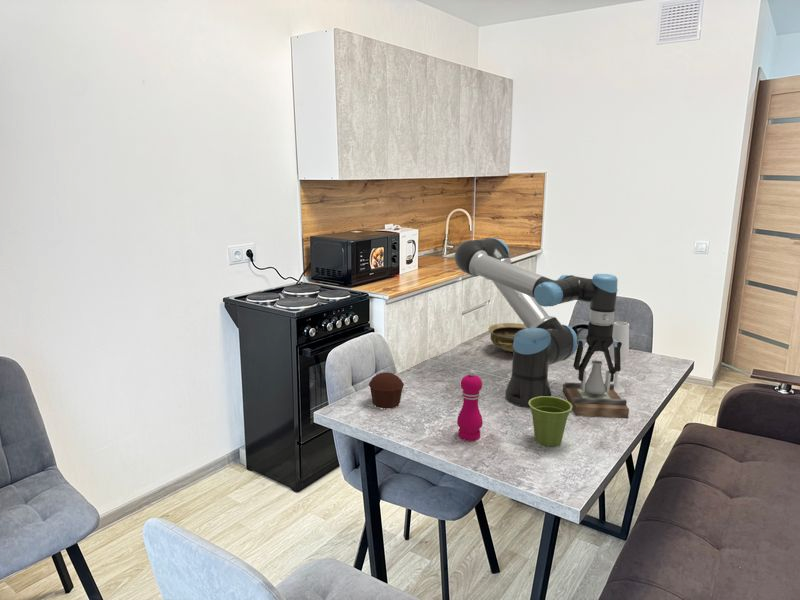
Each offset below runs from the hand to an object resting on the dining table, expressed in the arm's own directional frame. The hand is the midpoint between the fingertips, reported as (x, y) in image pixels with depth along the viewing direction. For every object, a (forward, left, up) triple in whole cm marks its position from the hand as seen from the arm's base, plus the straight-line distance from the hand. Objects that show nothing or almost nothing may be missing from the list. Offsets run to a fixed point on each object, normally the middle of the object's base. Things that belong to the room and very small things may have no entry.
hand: (594, 390), depth 183 cm
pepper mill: (-42, -27, -5) cm, 50 cm away
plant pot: (-20, -28, -5) cm, 35 cm away
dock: (0, 0, -5) cm, 5 cm away
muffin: (-68, -6, -5) cm, 68 cm away
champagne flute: (+11, +14, -5) cm, 19 cm away
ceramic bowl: (-18, +52, -5) cm, 56 cm away
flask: (0, 0, 0) cm, 0 cm away
